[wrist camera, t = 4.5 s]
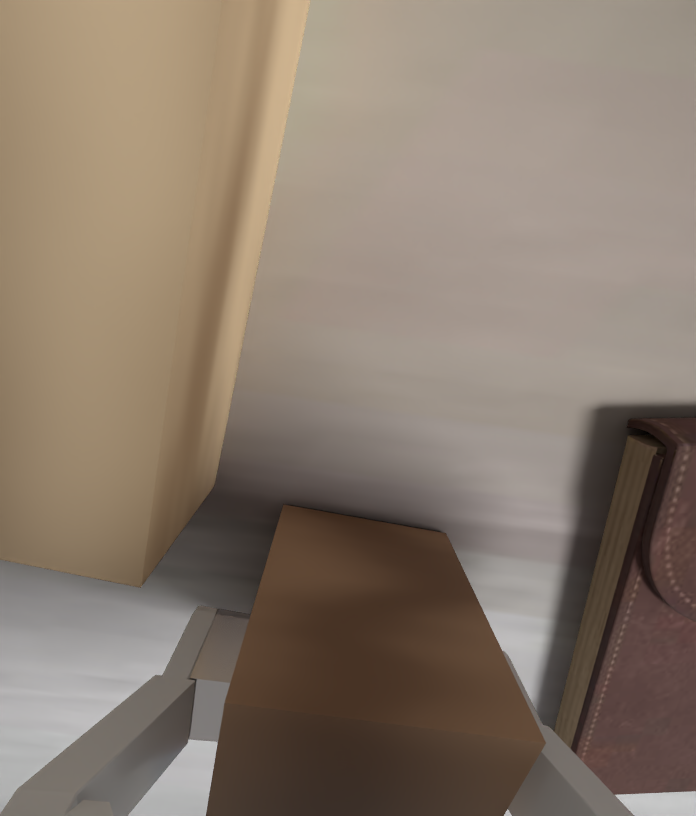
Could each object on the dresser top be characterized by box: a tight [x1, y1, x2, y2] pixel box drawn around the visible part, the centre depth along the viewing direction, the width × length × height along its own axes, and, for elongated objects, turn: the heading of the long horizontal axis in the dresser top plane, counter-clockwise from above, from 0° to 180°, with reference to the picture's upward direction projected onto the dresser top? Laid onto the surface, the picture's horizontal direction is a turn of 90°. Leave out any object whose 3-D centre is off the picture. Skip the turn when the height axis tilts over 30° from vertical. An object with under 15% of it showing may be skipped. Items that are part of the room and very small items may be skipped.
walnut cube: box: [206, 504, 546, 816], centre depth 8 cm, size 5×5×5 cm
